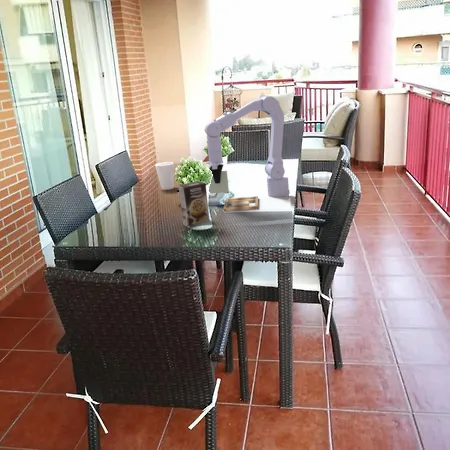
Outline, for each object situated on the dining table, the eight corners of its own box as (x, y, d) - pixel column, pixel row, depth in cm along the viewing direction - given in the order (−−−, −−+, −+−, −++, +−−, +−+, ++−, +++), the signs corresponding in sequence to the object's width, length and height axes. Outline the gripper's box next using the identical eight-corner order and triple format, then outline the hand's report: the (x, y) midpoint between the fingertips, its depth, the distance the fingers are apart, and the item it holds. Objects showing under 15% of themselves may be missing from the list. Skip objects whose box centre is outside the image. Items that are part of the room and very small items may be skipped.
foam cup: (155, 190, 250) (151, 165, 246) (164, 186, 258) (160, 162, 254) (171, 190, 246) (168, 165, 242) (179, 186, 254) (176, 161, 250)
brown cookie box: (189, 228, 183) (184, 187, 178) (182, 224, 189) (177, 184, 184) (210, 223, 187) (206, 182, 182) (203, 219, 193) (199, 180, 188)
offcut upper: (248, 205, 201) (248, 200, 200) (249, 207, 197) (249, 203, 196) (232, 207, 201) (231, 202, 200) (232, 209, 197) (232, 205, 196)
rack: (258, 201, 210) (257, 196, 209) (258, 212, 195) (257, 206, 194) (226, 203, 211) (226, 198, 211) (223, 214, 196) (223, 208, 196)
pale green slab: (228, 191, 208) (226, 170, 205) (228, 192, 206) (226, 171, 203) (210, 192, 208) (208, 172, 206) (210, 193, 206) (207, 173, 204)
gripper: (207, 149, 209) (210, 179, 213) (203, 154, 195) (206, 187, 199) (223, 147, 208) (226, 178, 212) (220, 153, 194) (223, 186, 199)
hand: (217, 182), depth 206 cm, fingers closed on pale green slab, 2 cm apart
